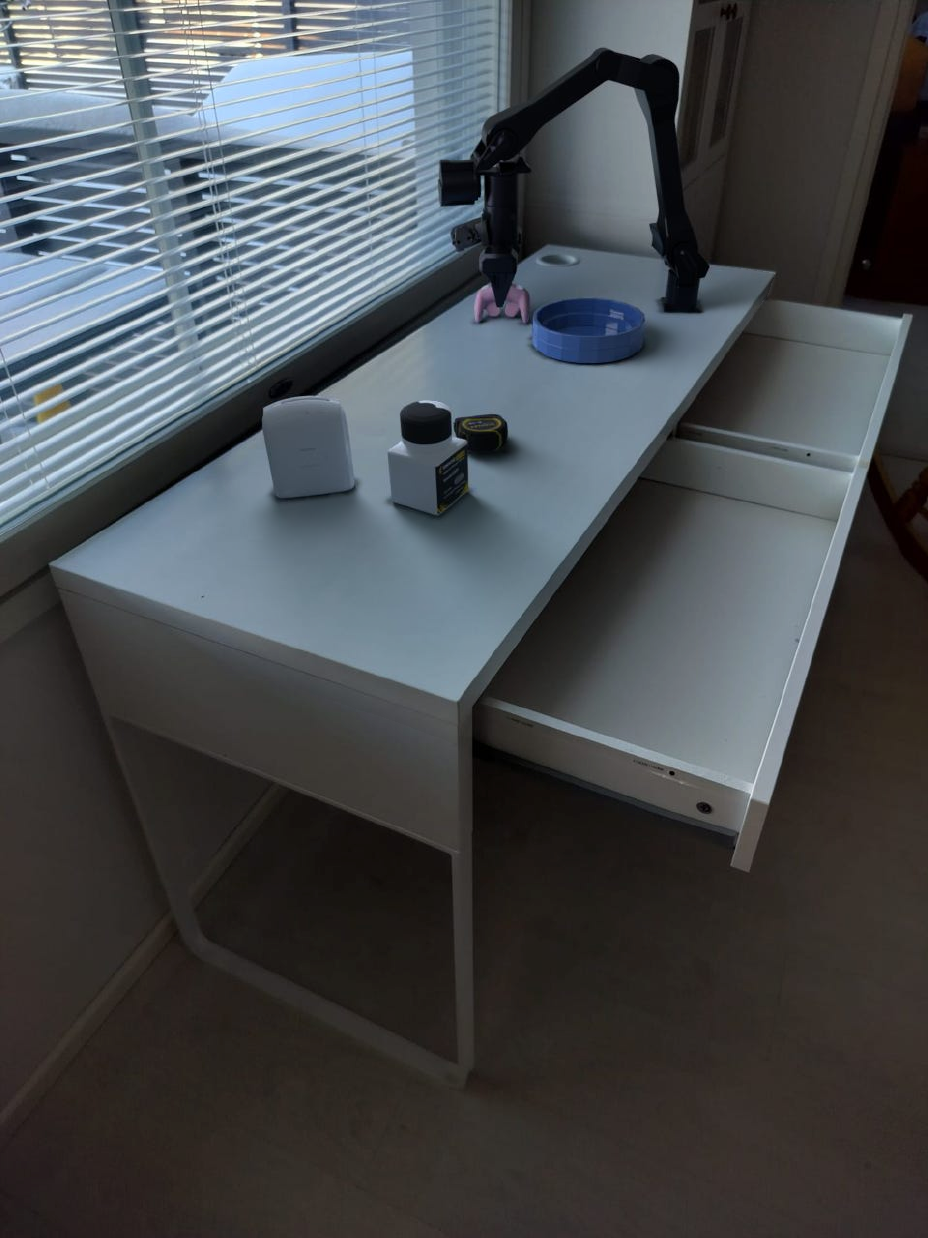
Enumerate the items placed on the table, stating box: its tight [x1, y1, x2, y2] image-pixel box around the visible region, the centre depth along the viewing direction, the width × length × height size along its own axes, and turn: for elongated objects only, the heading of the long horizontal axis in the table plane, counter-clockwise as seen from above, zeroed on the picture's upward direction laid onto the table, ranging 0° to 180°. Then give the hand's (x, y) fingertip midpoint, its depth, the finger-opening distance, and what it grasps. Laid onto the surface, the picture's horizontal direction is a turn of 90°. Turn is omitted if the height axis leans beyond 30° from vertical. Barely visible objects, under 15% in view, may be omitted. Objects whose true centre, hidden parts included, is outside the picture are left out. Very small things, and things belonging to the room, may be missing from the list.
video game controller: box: [473, 283, 531, 324], centre depth 157 cm, size 10×5×7 cm, turn 84°
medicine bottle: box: [386, 399, 469, 516], centre depth 107 cm, size 7×7×12 cm
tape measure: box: [452, 413, 509, 454], centre depth 120 cm, size 7×7×4 cm
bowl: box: [531, 297, 646, 364], centre depth 147 cm, size 18×18×4 cm
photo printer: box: [261, 395, 356, 499], centre depth 109 cm, size 10×4×12 cm, turn 100°
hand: (501, 297), depth 156 cm, fingers open, 9 cm apart
